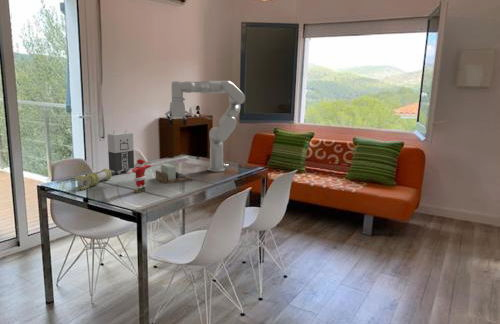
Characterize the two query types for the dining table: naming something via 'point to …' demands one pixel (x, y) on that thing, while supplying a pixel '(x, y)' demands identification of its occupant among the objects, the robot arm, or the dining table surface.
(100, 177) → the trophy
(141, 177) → the santa figurine
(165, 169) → the pale green block
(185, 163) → the dining table surface
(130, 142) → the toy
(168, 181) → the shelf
